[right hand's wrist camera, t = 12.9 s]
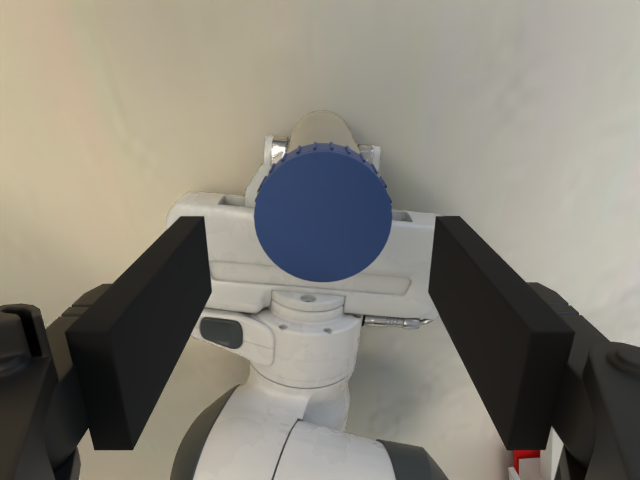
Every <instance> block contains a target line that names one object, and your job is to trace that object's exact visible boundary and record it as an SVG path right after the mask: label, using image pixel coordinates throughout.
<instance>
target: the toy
mask: <svg viewBox="0 0 640 480" xmlns="http://www.w3.org/2000/svg"><path fill="white" fill-rule="evenodd" d="M562 448H563V442H562V441H561V439H560V438H559V436H558V435H557V433H556V432H555V430H554V429H553V427H552V426H551V430H550V434H549V438H548V442H547V446H546V450H514V467H509V468H508V471H509V480H554V477H555V474H556V470H557V466H558V463H559V459H560V455H561V452H562Z"/></svg>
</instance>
